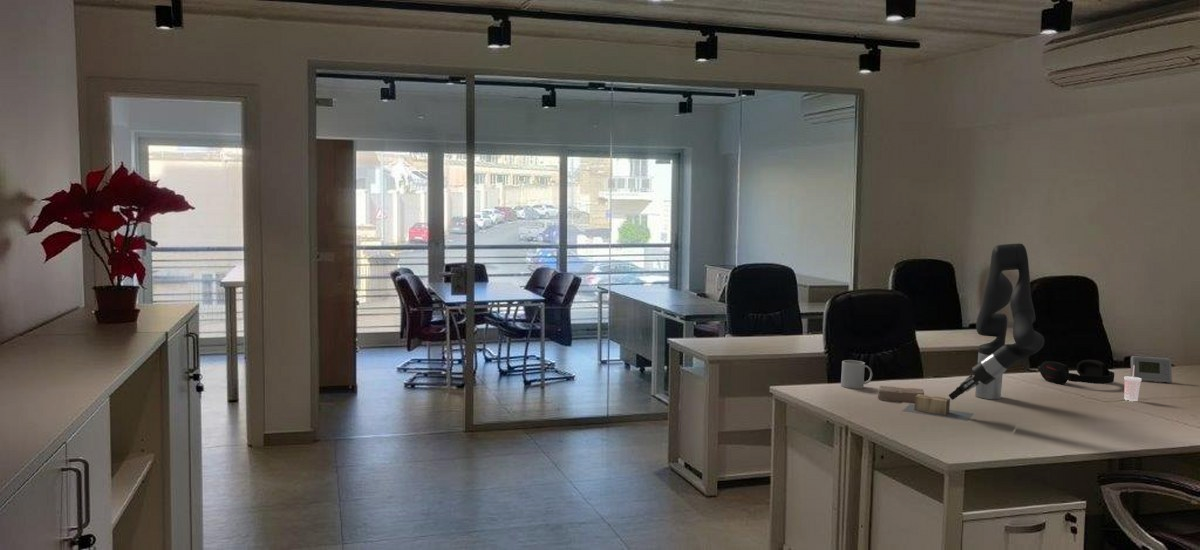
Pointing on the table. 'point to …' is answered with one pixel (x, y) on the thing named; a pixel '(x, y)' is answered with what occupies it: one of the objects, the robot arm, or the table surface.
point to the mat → (951, 414)
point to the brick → (898, 393)
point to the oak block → (932, 404)
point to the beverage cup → (1132, 387)
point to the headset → (1087, 372)
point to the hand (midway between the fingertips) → (950, 397)
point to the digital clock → (1152, 368)
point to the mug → (854, 374)
